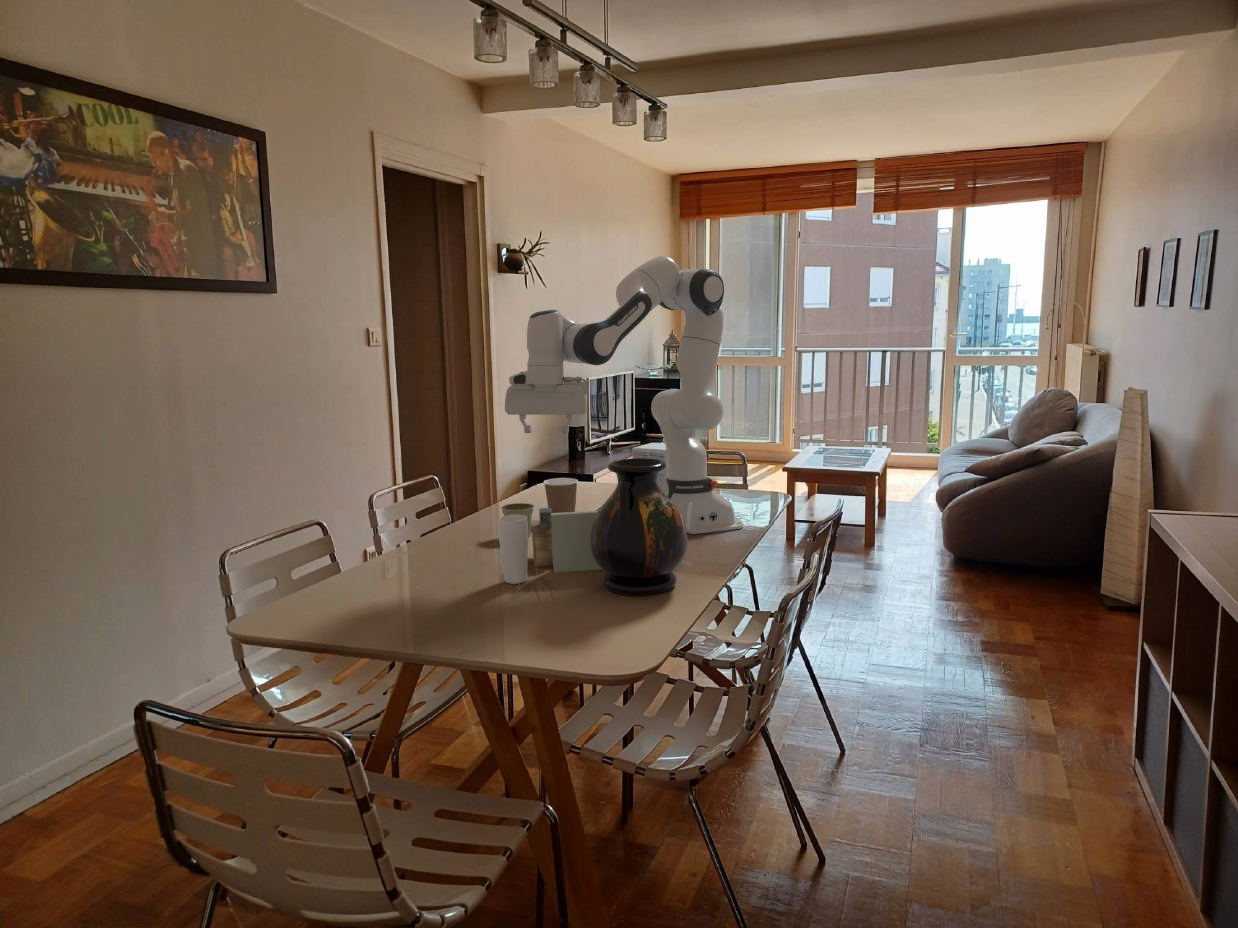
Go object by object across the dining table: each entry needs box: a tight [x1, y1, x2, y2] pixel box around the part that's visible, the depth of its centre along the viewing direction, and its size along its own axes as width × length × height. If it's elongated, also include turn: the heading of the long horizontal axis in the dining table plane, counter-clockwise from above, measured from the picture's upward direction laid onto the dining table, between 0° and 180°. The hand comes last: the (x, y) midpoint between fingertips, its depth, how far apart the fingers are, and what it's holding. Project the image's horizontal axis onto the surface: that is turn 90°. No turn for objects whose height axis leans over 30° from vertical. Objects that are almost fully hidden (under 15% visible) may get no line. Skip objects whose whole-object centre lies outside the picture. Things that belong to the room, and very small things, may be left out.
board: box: [551, 510, 602, 573], centre depth 206 cm, size 16×6×14 cm, turn 97°
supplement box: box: [631, 442, 668, 496], centre depth 283 cm, size 13×13×18 cm
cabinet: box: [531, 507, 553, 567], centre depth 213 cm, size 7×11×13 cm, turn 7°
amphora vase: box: [591, 458, 689, 596], centre depth 188 cm, size 22×22×28 cm
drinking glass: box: [497, 515, 529, 585], centre depth 196 cm, size 7×7×15 cm
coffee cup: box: [543, 477, 579, 513], centre depth 255 cm, size 10×10×12 cm
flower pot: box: [500, 502, 536, 538], centre depth 237 cm, size 9×9×9 cm
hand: (546, 432), depth 212 cm, fingers open, 8 cm apart
